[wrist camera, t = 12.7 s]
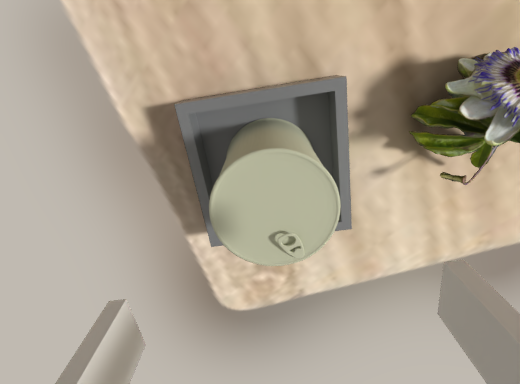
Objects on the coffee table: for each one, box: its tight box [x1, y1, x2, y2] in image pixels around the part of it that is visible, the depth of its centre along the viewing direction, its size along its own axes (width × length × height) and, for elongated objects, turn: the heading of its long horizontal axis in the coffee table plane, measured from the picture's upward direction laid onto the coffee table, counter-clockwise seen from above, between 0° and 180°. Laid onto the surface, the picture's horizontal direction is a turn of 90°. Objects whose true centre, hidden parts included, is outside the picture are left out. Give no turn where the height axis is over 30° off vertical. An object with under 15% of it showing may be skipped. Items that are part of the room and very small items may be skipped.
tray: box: [174, 75, 352, 247], centre depth 30 cm, size 15×15×4 cm
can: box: [209, 118, 341, 266], centre depth 25 cm, size 9×9×12 cm
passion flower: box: [409, 47, 520, 185], centre depth 26 cm, size 11×11×12 cm
